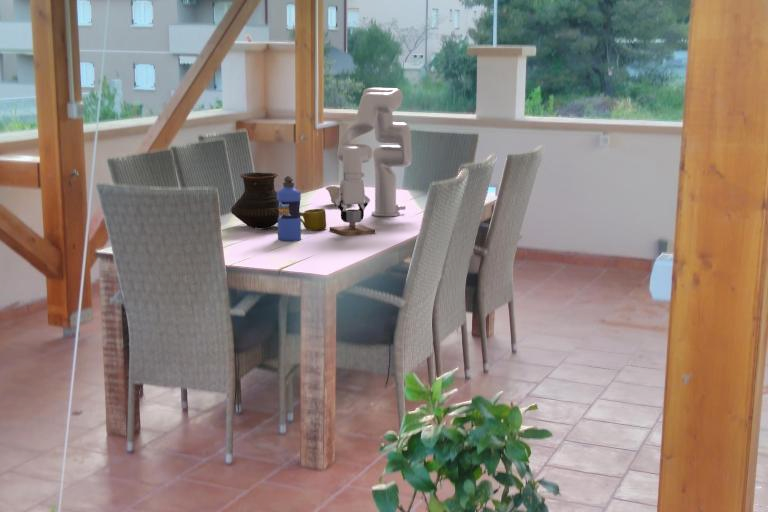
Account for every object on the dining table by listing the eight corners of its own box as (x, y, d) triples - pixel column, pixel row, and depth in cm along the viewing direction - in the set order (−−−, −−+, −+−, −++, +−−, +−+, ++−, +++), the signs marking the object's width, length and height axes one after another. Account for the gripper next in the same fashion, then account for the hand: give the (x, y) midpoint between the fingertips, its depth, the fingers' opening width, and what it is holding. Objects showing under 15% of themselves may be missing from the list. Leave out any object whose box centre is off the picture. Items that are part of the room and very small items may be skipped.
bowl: (362, 204, 506) (362, 183, 504) (345, 208, 494) (345, 187, 492) (336, 201, 514) (336, 181, 512) (320, 205, 502) (319, 184, 500)
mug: (333, 223, 439) (326, 202, 435) (325, 234, 431) (317, 213, 427) (308, 226, 444) (300, 206, 440) (299, 238, 436) (291, 216, 432)
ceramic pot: (219, 229, 435) (218, 175, 431) (254, 220, 456) (253, 169, 452) (267, 234, 424) (266, 179, 419) (301, 225, 445) (300, 173, 440)
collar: (356, 219, 434) (355, 208, 433) (363, 221, 428) (363, 211, 427) (340, 220, 430) (340, 210, 429) (348, 223, 424) (348, 212, 423)
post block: (359, 228, 439) (359, 210, 438) (375, 233, 427) (375, 215, 426) (329, 230, 432) (329, 212, 431) (344, 235, 420) (344, 217, 419)
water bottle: (291, 242, 406) (290, 178, 401) (272, 240, 411) (271, 177, 406) (305, 238, 414) (305, 176, 409) (287, 236, 418) (286, 174, 413)
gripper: (366, 174, 433) (366, 216, 436) (329, 176, 424) (329, 220, 428) (375, 176, 426) (375, 219, 430) (337, 179, 418) (337, 222, 422)
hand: (352, 219), depth 429 cm, fingers closed on collar, 7 cm apart
